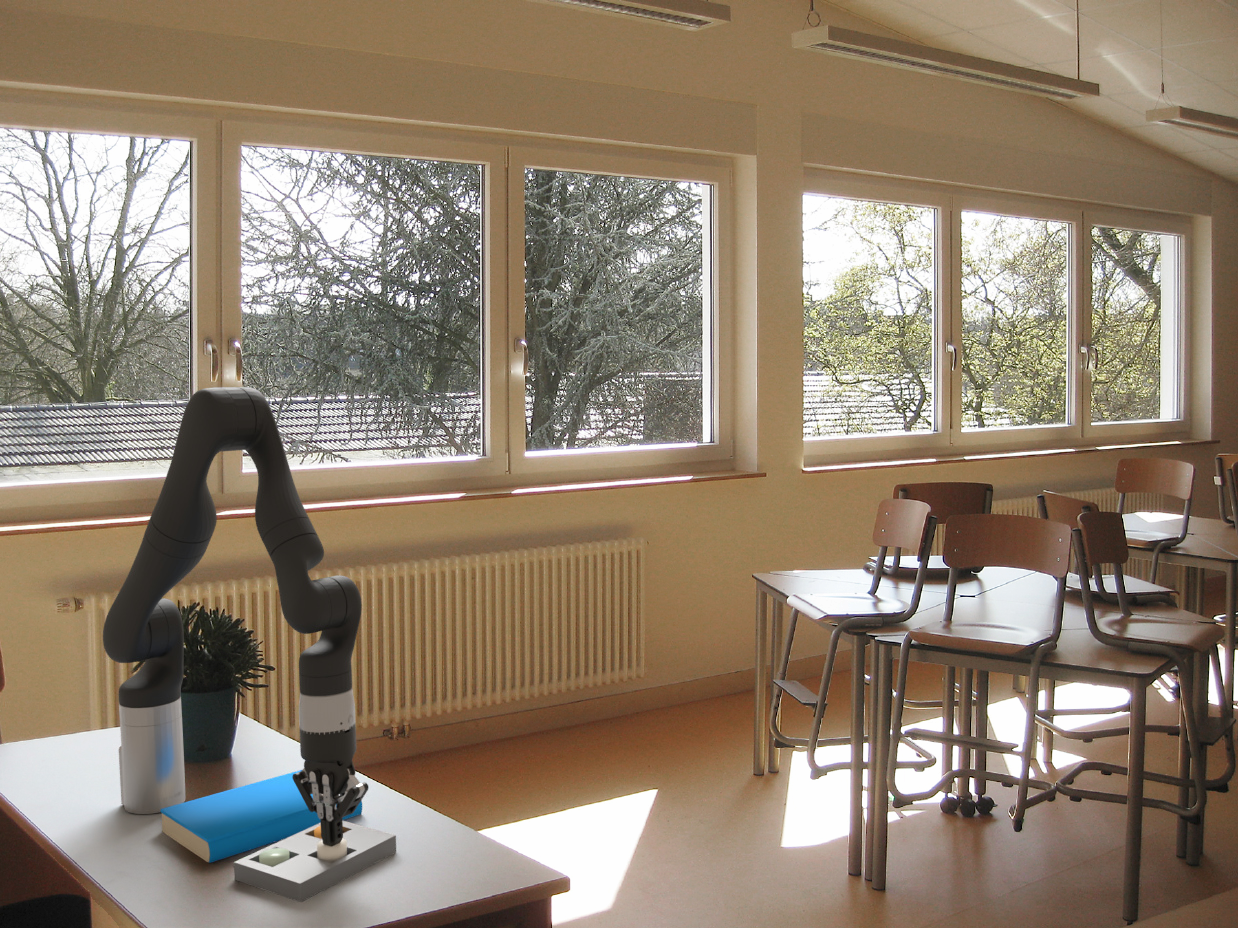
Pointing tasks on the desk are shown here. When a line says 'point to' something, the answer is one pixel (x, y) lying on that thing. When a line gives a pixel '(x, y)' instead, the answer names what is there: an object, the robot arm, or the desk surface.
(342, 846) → the button ivory
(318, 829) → the button orange
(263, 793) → the book
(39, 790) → the desk surface
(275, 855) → the button sage
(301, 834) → the panel
